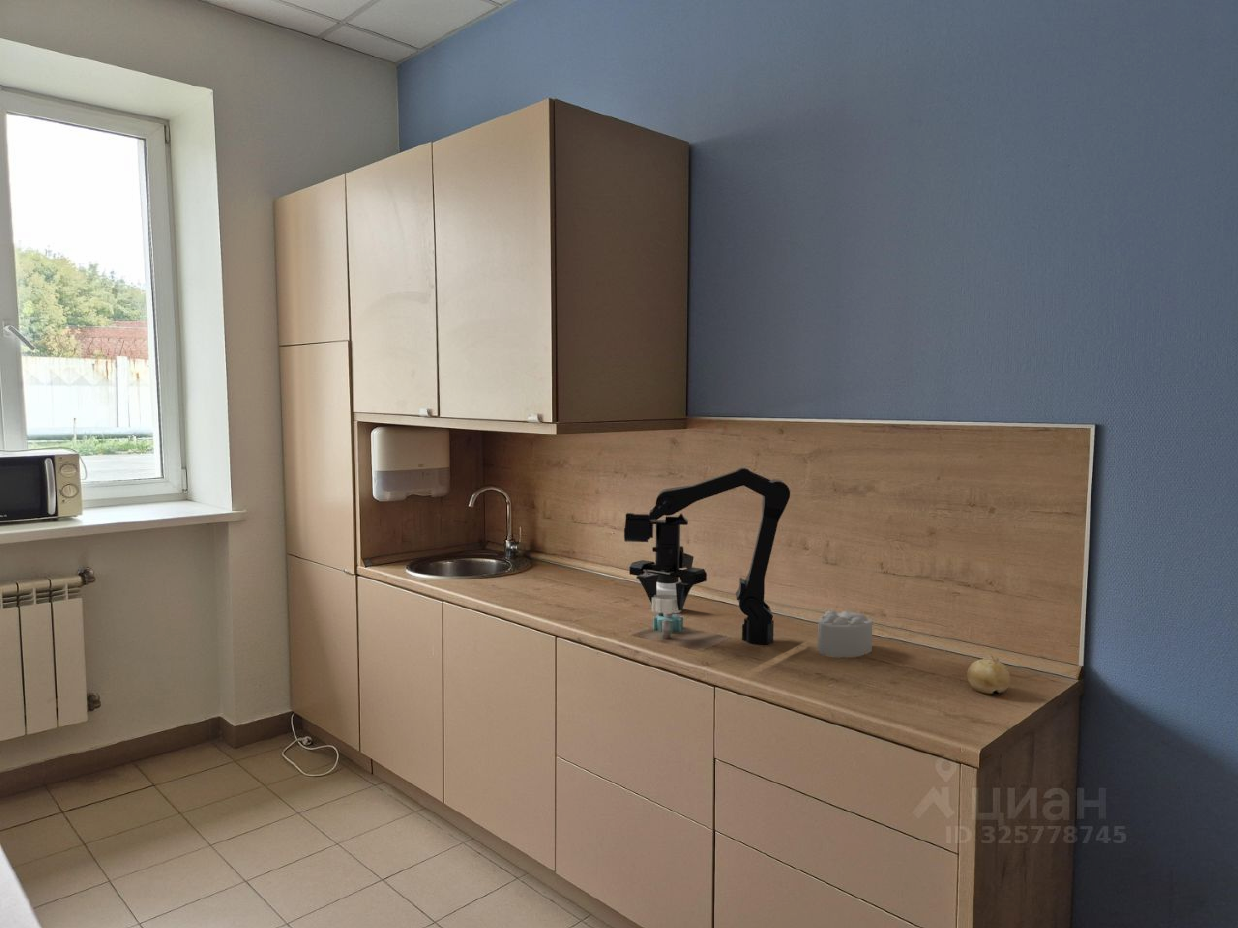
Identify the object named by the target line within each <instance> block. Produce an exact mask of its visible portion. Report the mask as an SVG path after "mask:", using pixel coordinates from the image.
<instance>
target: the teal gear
mask: <svg viewBox="0 0 1238 928" xmlns="http://www.w3.org/2000/svg"><path fill="white" fill-rule="evenodd" d="M664 620H668V621H671V628H670V633H673V632H681V629H683V628H684V625H683V624H684V617H683V616H681V615H678V613H672V618H665V617H664V613H658V614H655V615H654V616H653V626H652V627H653V629H654V630H658V632H662V621H664Z"/></svg>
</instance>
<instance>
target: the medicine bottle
mask: <svg viewBox="0 0 1238 928" xmlns="http://www.w3.org/2000/svg"><path fill="white" fill-rule="evenodd" d="M661 571H663V570H661ZM670 573H674V572H670ZM679 580H680V578H678V577H672V576H666V575H659V577H658V580H657V583H656V595H662V594H666V595H677V594H676V583H679ZM651 612H652V613H654V612H655V613H657V611H652V610H651ZM674 614H679V613H678V612H675V613H674Z"/></svg>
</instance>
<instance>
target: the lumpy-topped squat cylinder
mask: <svg viewBox="0 0 1238 928" xmlns="http://www.w3.org/2000/svg"><path fill="white" fill-rule="evenodd" d="M817 627H818V631H817V632H818V636H817V652H818V651H819V652H820V653H821V655H822V654H823V655H822V656H825V655H826V657H830V656H832V657H831V658H840V657H846V658H858V657H862V656H864V654H865V655H867V653H868V654H870V653H871V652H872V651H873V620H872V619H871V618H868V617H867V616H865V614H862V613H858V612H853V611H850V610H843V611H841V612H840V613H837V612H836V611H835V610H828V611H826V612H825V613H824V614H823V616H822V617H820V618H819V620H818V626H817ZM819 652H818V653H819ZM869 652H870V653H869ZM820 653H819V654H820ZM861 655H862V656H861ZM857 656H858V657H857Z"/></svg>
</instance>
